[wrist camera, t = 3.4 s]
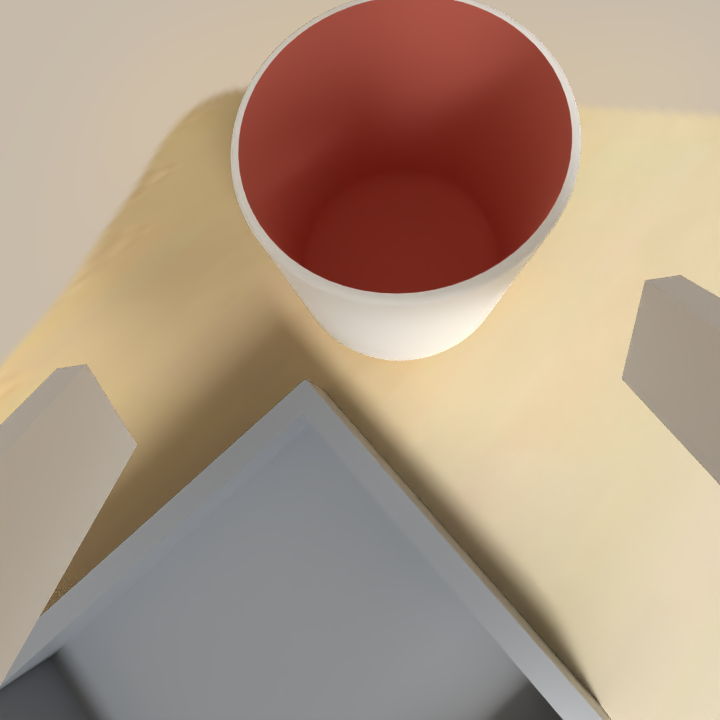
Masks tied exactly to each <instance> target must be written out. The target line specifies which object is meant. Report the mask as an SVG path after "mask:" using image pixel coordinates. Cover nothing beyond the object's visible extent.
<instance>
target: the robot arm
mask: <svg viewBox="0 0 720 720" xmlns="http://www.w3.org/2000/svg"><path fill="white" fill-rule="evenodd" d="M622 380H623V381H624V382H625V383H626V384H627V385H628V386H629V387H630V388H631V389H632V391H633V392H634V393H635V394H636V395H637V396H638V397H639V398H640V399H641V400H642V401H643V402H644V403H645V405H646V406H647V407H648V408H649V409H650V410H651V411H652V412H653V413H654V414H655V415H656V416H657V418H658V419H659V420H660V421H661V422H662V423H663V424H664V425H665V426H666V427H667V428H668V429H669V430H670V432H671V433H672V434H673V435H674V436H675V437H676V438H677V439H678V440H679V441H680V442H681V443H682V445H683V446H684V447H685V448H686V449H687V450H688V451H689V452H690V453H691V454H692V455H693V456H694V457H695V459H696V460H697V461H698V462H699V463H700V464H701V465H702V466H703V467H704V468H705V469H706V470H707V472H708V473H709V474H710V475H711V476H712V477H713V478H714V479H715V480H716V481H717V482H718V483H719V484H720V298H719V297H717V296H716V295H714V294H712V293H710V292H709V291H707V290H705V289H704V288H702V287H700V286H698V285H697V284H695V283H693V282H691V281H690V280H688V279H686V278H685V277H683V276H681V275H678V276H672V277H665V278H658V279H652V280H645V283H644V287H643V291H642V296H641V300H640V304H639V308H638V312H637V317H636V321H635V325H634V329H633V334H632V338H631V342H630V346H629V350H628V355H627V359H626V363H625V367H624V372H623V376H622ZM136 447H137V444H136V442H135V441H134V439H133V438H132V436H131V434H130V433H129V431H128V430H127V428H126V426H125V425H124V423H123V422H122V420H121V418H120V417H119V415H118V414H117V412H116V410H115V409H114V407H113V405H112V404H111V402H110V401H109V399H108V397H107V396H106V394H105V393H104V391H103V389H102V388H101V386H100V385H99V383H98V381H97V380H96V378H95V377H94V375H93V373H92V372H91V370H90V369H89V367H88V365H87V364H85V365H78V366H72V367H65V368H58V369H56V370H55V371H54V372H53V373H52V374H51V375H50V376H49V377H48V378H47V379H46V380H45V381H44V382H43V383H42V384H41V385H40V386H39V387H38V388H37V389H36V390H35V391H34V392H33V393H32V394H31V395H30V396H29V397H28V398H27V399H26V400H25V401H24V402H23V403H22V404H21V405H20V406H19V407H18V408H17V409H16V410H15V411H14V412H13V413H12V414H11V415H10V416H9V417H8V418H7V419H6V420H5V421H4V422H3V423H2V424H1V425H0V685H1V683H2V682H3V680H4V678H5V676H6V675H7V673H8V671H9V669H10V668H11V666H12V664H13V662H14V661H15V659H16V657H17V655H18V654H19V652H20V650H21V648H22V647H23V645H24V643H25V641H26V640H27V638H28V636H29V634H30V633H31V631H32V629H33V627H34V626H35V624H36V622H37V620H38V619H39V617H40V615H41V613H42V612H43V610H44V608H45V606H46V605H47V603H48V601H49V599H50V597H51V596H52V594H53V592H54V590H55V589H56V587H57V585H58V583H59V582H60V580H61V578H62V576H63V575H64V573H65V571H66V569H67V568H68V566H69V564H70V562H71V561H72V559H73V557H74V555H75V554H76V552H77V550H78V548H79V547H80V545H81V543H82V541H83V540H84V538H85V536H86V534H87V533H88V531H89V529H90V527H91V526H92V524H93V522H94V520H95V519H96V517H97V515H98V513H99V512H100V510H101V508H102V506H103V504H104V503H105V501H106V499H107V497H108V496H109V494H110V492H111V490H112V489H113V487H114V485H115V483H116V482H117V480H118V478H119V476H120V475H121V473H122V471H123V469H124V468H125V466H126V464H127V462H128V461H129V459H130V457H131V455H132V454H133V452H134V450H135V448H136Z"/></svg>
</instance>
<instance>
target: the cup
mask: <svg viewBox="0 0 720 720" xmlns="http://www.w3.org/2000/svg"><path fill="white" fill-rule="evenodd" d="M580 155H581V126H580V119H579V113H578V108H577V104H576V101H575V97H574V94H573V92H572V89H571V87H570V84H569V82H568V80H567V78H566V76H565V74H564V72H563V70H562V69H561V67H560V66H559V64H558V63H557V61H556V60H555V58H554V57H553V55H552V54H551V53H550V52H549V50H548V49H547V48H546V47H545V46H544V45H543V44H542V43H541V42H540V40H539V39H538V38H536V36H534V35H533V34H532V33H531V32H530V31H529V30H528V29H526V28H525V27H523V26H522V25H520V24H519V23H518V22H516V21H515V20H513V19H512V18H510V17H509V16H507V15H506V14H503V13H502V12H500V11H498V10H496V9H494V8H492V7H490V6H487V5H485V4H482V3H480V2H477V1H475V0H356V1H352V2H348V3H346V4H343V5H341V6H339V7H336V8H334V9H331V10H329V11H327V12H325V13H323V14H322V15H320V16H318V17H316V18H314V19H313V20H311V21H310V22H308V23H307V24H305V25H304V26H302V27H301V28H299V29H298V30H297V31H296V32H294V33H293V34H292V35H291V36H289V37H288V38H287V39H285V41H283V42H282V43H281V44H280V45H279V46H278V47H277V48H276V49H275V50H274V51H273V52H272V54H271V55H270V56H269V57H268V58H267V59H266V61H265V62H264V63H263V65H262V66H261V67H260V69H259V70H258V72H257V73H256V74H255V76H254V78H253V79H252V81H251V83H250V84H249V86H248V88H247V90H246V92H245V94H244V96H243V99H242V101H241V104H240V106H239V109H238V112H237V116H236V119H235V123H234V127H233V133H232V139H231V151H230V157H231V173H232V181H233V186H234V190H235V194H236V197H237V201H238V204H239V207H240V209H241V211H242V214H243V216H244V218H245V220H246V222H247V224H248V226H249V228H250V229H251V231H252V233H253V234H254V236H255V237H256V239H257V240H258V241H259V243H260V244H261V245H262V247H263V248H264V249H265V251H266V252H267V254H268V255H269V256H270V258H271V259H272V260H273V262H274V263H275V265H276V266H277V267H278V269H279V270H280V271H281V273H282V274H283V276H284V277H285V278H286V280H287V281H288V282H289V284H290V285H291V287H292V288H293V289H294V291H295V292H296V293H297V295H298V296H299V298H300V299H301V300H302V302H303V303H304V304H305V306H306V307H307V309H308V310H309V311H310V313H311V314H312V315H313V317H314V318H315V319H316V321H317V322H318V323H319V325H320V326H321V327H322V328H323V329H324V330H325V331H326V332H327V333H328V334H329V335H331V336H332V337H333V338H334V339H336V340H337V341H338V342H340V343H341V344H343V345H344V346H346V347H348V348H349V349H352V350H354V351H356V352H358V353H360V354H363V355H367V356H370V357H373V358H378V359H383V360H394V361H403V360H414V359H421V358H425V357H429V356H432V355H435V354H438V353H440V352H443V351H445V350H447V349H449V348H451V347H453V346H455V345H457V344H458V343H460V342H461V341H462V340H464V339H465V338H467V337H468V336H469V335H470V334H471V333H473V332H474V331H475V330H476V329H477V328H478V327H479V326H480V325H481V323H482V322H483V321H484V320H485V319H486V317H487V316H488V315H489V313H490V312H491V311H492V309H493V308H494V307H495V305H496V304H497V302H498V301H499V300H500V298H501V297H502V296H503V294H504V293H505V292H506V290H507V289H508V288H509V286H510V285H511V284H512V282H513V281H514V280H515V278H516V277H517V276H518V274H519V273H520V272H521V270H522V269H523V268H524V266H525V265H526V264H527V262H528V261H529V260H530V258H531V257H532V256H533V254H534V253H535V252H536V250H537V249H538V248H539V246H540V245H541V244H542V242H543V241H544V239H545V238H546V237H547V235H548V234H549V233H550V231H551V230H552V229H553V227H554V226H555V224H556V223H557V221H558V219H559V218H560V216H561V214H562V213H563V211H564V209H565V207H566V205H567V203H568V200H569V198H570V196H571V193H572V190H573V187H574V184H575V181H576V177H577V173H578V169H579V163H580Z"/></svg>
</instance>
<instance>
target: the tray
mask: <svg viewBox="0 0 720 720" xmlns="http://www.w3.org/2000/svg"><path fill="white" fill-rule="evenodd" d="M0 720H611V719H610V717H609V716H608V715H607V713H606V712H605V711H604V709H603V708H602V707H601V706H600V704H599V703H598V702H597V701H596V700H595V699H594V698H593V696H592V695H591V694H590V693H589V692H588V691H587V690H586V688H585V687H584V686H583V685H582V684H581V683H580V682H579V681H578V679H577V678H576V677H575V676H574V675H573V674H572V673H571V671H570V670H569V669H568V668H567V667H566V666H565V665H564V663H563V662H562V661H561V660H560V659H559V658H558V657H557V655H556V654H555V653H554V652H553V651H552V650H551V649H550V648H549V646H548V645H547V644H546V643H545V642H544V641H543V640H542V638H541V637H540V636H539V635H538V634H537V633H536V632H535V630H534V629H533V628H532V627H531V626H530V625H529V624H528V622H527V621H526V620H525V619H524V618H523V617H522V616H521V614H520V613H519V612H518V611H517V610H516V609H515V608H514V607H513V605H512V604H511V603H510V602H509V601H508V600H507V599H506V597H505V596H504V595H503V594H502V593H501V592H500V591H499V589H498V588H497V587H496V586H495V585H494V584H493V583H492V581H491V580H490V579H489V578H488V577H487V576H486V575H485V574H484V572H483V571H482V570H481V569H480V568H479V567H478V566H477V564H476V563H475V562H474V561H473V560H472V559H471V558H470V556H469V555H468V554H467V553H466V552H465V551H464V550H463V548H462V547H461V546H460V545H459V544H458V543H457V542H456V540H455V539H454V538H453V537H452V536H451V535H450V534H449V533H448V531H447V530H446V529H445V528H444V527H443V526H442V525H441V523H440V522H439V521H438V520H437V519H436V518H435V517H434V515H433V514H432V513H431V512H430V511H429V510H428V509H427V507H426V506H425V505H424V504H423V503H422V502H421V501H420V500H419V498H418V497H417V496H416V495H415V494H414V493H413V492H412V490H411V489H410V488H409V487H408V486H407V485H406V484H405V482H404V481H403V480H402V479H401V478H400V477H399V476H398V474H397V473H396V472H395V471H394V470H393V469H392V468H391V466H390V465H389V464H388V463H387V462H386V461H385V460H384V459H383V457H382V456H381V455H380V454H379V453H378V452H377V451H376V449H375V448H374V447H373V446H372V445H371V444H370V443H369V441H368V440H367V439H366V438H365V437H364V436H363V435H362V433H361V432H360V431H359V430H358V429H357V428H356V427H355V426H354V424H353V423H352V422H351V421H350V420H349V419H348V418H347V416H346V415H345V414H344V413H343V412H342V411H341V410H340V408H339V407H338V406H337V405H336V404H335V403H334V402H333V400H332V399H331V398H330V397H329V396H328V395H327V394H326V392H325V391H324V390H323V389H321V388H320V387H318V386H316V385H315V384H313V383H311V382H309V381H308V380H306V379H305V380H303V381H302V382H301V383H300V384H299V385H298V386H297V387H296V388H295V389H293V390H292V391H291V392H290V393H289V394H288V395H287V396H286V397H284V398H283V399H282V400H281V401H280V402H279V403H278V404H277V405H276V406H274V407H273V408H272V409H271V410H270V411H269V412H268V413H267V414H265V415H264V416H263V417H262V418H261V419H260V420H259V421H258V422H257V423H255V424H254V425H253V426H252V427H251V428H250V429H249V430H248V431H247V432H245V433H244V434H243V435H242V436H241V437H240V438H239V439H238V440H236V441H235V442H234V443H233V444H232V445H231V446H230V447H229V448H228V449H226V450H225V451H224V452H223V453H222V454H221V455H220V456H219V457H217V458H216V459H215V460H214V461H213V462H212V463H211V464H210V465H209V466H207V467H206V468H205V469H204V470H203V471H202V472H201V473H200V474H198V475H197V476H196V477H195V478H194V479H193V480H192V481H191V482H190V483H188V484H187V485H186V486H185V487H184V488H183V489H182V490H181V491H180V492H178V493H177V494H176V495H175V496H174V497H173V498H172V499H171V500H169V501H168V502H167V503H166V504H165V505H164V506H163V507H162V508H161V509H159V510H158V511H157V512H156V513H155V514H154V515H153V516H152V517H150V518H149V519H148V520H147V521H146V522H145V523H144V524H143V525H142V526H140V527H139V528H138V529H137V530H136V531H135V532H134V533H133V534H131V535H130V536H129V537H128V538H127V539H126V540H125V541H124V542H123V543H121V544H120V545H119V546H118V547H117V548H116V549H115V550H114V551H113V552H111V553H110V554H109V555H108V556H107V557H106V558H105V559H104V560H102V561H101V562H100V563H99V564H98V565H97V566H96V567H95V568H94V569H92V570H91V571H90V572H89V573H88V574H87V575H86V576H85V577H83V578H82V579H81V580H80V581H79V582H78V583H77V584H76V585H75V586H73V587H72V588H71V589H70V590H69V591H68V592H67V593H66V594H64V595H63V596H62V597H61V598H60V599H59V600H58V601H57V602H56V603H54V604H53V605H52V606H51V607H50V608H49V609H48V610H47V611H46V612H44V613H43V614H42V615H41V616H40V617H39V619H38V620H37V622H36V624H35V626H34V627H33V629H32V631H31V633H30V634H29V636H28V638H27V640H26V641H25V643H24V645H23V647H22V648H21V650H20V652H19V654H18V655H17V657H16V659H15V661H14V662H13V664H12V666H11V668H10V669H9V671H8V673H7V675H6V676H5V678H4V680H3V682H2V683H1V685H0Z"/></svg>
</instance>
